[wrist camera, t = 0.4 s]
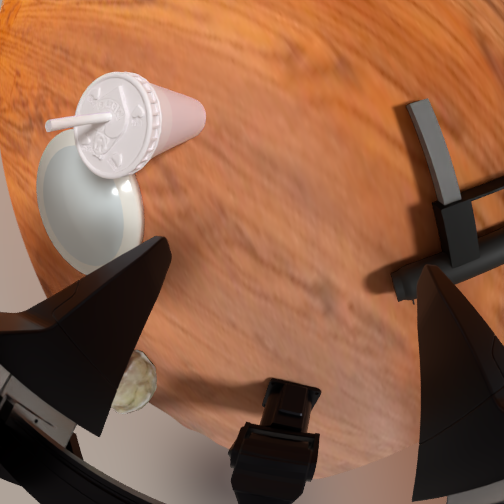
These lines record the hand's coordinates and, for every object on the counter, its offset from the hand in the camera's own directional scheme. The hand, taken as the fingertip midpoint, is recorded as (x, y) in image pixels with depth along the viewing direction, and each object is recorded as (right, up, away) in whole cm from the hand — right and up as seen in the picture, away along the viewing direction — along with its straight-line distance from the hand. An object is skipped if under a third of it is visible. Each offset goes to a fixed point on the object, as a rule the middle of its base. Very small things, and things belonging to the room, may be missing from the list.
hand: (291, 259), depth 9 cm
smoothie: (-7, +11, +12) cm, 18 cm away
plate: (-20, +6, +19) cm, 29 cm away
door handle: (+17, +6, +9) cm, 20 cm away
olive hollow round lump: (-19, -16, +30) cm, 39 cm away
